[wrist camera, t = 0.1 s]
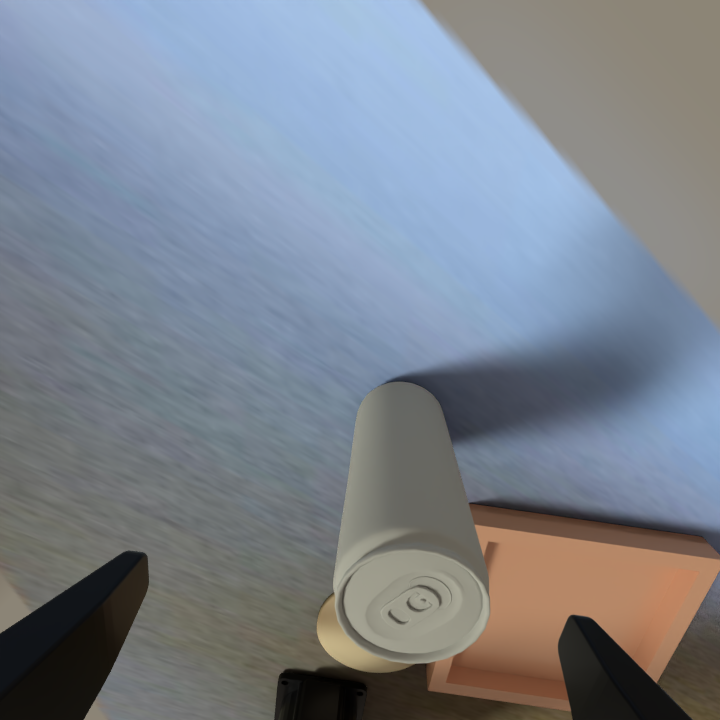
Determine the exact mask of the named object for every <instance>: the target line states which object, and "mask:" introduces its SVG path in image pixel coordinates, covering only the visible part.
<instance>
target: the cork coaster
mask: <svg viewBox="0 0 720 720" xmlns="http://www.w3.org/2000/svg"><path fill="white" fill-rule="evenodd" d="M335 599H336V598H335V593H332V594H331V595H330V596H329V597H328V598H327V599H326V600H325V601H324V603H323V605H322V606H321V609H320V611H319V615H318V620H317V634H318V638H319V640H320V642H321V644H322V646H323V647H324V649H325V650H326V651H327V652H328V653H329V655H331V656H332V657H333V658H334V659H336V660H337V661H339V662H340V663H342V664H344V665H346V666H348V667H351V668H353V669H357V670H360V671H365V672H373V673H386V672H394V671H398V670H402V669H405V668H408V667H410V666H412V665H414V664H407V663H400V662H393V661H388V660H386V659H383V658H380V657H377V656H374V655H372V654H370V653H368V652H367V651H365V650H363V649H362V648H360V647H358V646H357V645H356V644H355V643H354V642H353V641H352V640H351V639H350V638H349V637H348V636H347V635H346V634H345V633H344V631H343V629H342V627H341V626H340V624H339V622H338V620H337V615H336V610H335Z"/></svg>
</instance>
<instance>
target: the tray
mask: <svg viewBox="0 0 720 720" xmlns="http://www.w3.org/2000/svg"><path fill="white" fill-rule="evenodd" d="M469 507H470V510H471V514H472V518H473V521H474V525H475V528H476V532H477V535H478V539H479V543H480V546H481V550H482V553H483V557H484V560H485V564H486V568H487V571H488V575H489V596H490V616H489V619H488V622H487V625H486V628H485V630H484V631H483V632H482V634H481V635H480V636H479V638H478V639H477V640H476V642H474V643H473V644H472V645H470V646H469V647H468V648H467V649H465V650H464V651H463V652H460V653H458V654H456V655H454V656H452V657H449V658H447V659H444V660H439V661H435V662H431V663H426V674H427V685H428V691H435V692H442V693H449V694H455V695H462V696H469V697H476V698H483V699H490V700H497V701H503V702H510V703H517V704H524V705H531V706H538V707H545V708H551V709H558V710H565V711H571V708H570V704H569V699H568V695H567V690H566V686H565V682H564V677H563V673H562V668H561V664H560V659H559V655H558V641H559V638H560V635H561V633H562V631H563V628H564V626H565V623H566V621H567V619H568V617H569V616H570V615H581V616H587V617H590V618H592V619H593V620H594V621H595V622H596V623H597V624H598V625H599V626H600V627H601V628H602V629H603V630H604V631H605V632H606V633H607V634H608V635H609V636H610V637H611V638H612V639H613V640H614V641H615V642H616V643H617V644H618V645H619V646H620V647H621V648H622V649H623V650H624V651H625V652H626V653H627V654H628V655H629V656H630V657H631V658H632V659H633V660H634V661H635V662H636V663H637V664H638V665H639V666H640V667H641V668H642V669H643V670H644V671H645V672H646V673H647V674H648V675H649V676H650V677H651V678H652V679H653V680H654V681H655V682H656V683H657V682H658V680H659V678H660V676H661V674H662V673H663V671H664V669H665V667H666V665H667V664H668V662H669V660H670V658H671V657H672V655H673V653H674V651H675V649H676V648H677V646H678V644H679V642H680V640H681V639H682V637H683V635H684V633H685V632H686V630H687V628H688V626H689V624H690V623H691V621H692V619H693V617H694V615H695V614H696V612H697V610H698V608H699V606H700V605H701V603H702V601H703V599H704V598H705V596H706V594H707V592H708V590H709V589H710V587H711V585H712V583H713V581H714V580H715V578H716V576H717V574H718V572H719V571H720V555H719V554H718V553H717V552H716V551H715V549H714V548H713V547H712V546H711V545H710V544H709V543H708V542H707V541H706V540H705V539H704V538H703V537H700V536H693V535H686V534H679V533H672V532H665V531H658V530H651V529H644V528H637V527H630V526H623V525H616V524H609V523H602V522H595V521H588V520H581V519H575V518H568V517H561V516H554V515H547V514H540V513H533V512H526V511H519V510H512V509H505V508H498V507H491V506H484V505H477V504H470V503H469Z"/></svg>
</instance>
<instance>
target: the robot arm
mask: <svg viewBox="0 0 720 720" xmlns="http://www.w3.org/2000/svg"><path fill="white" fill-rule="evenodd" d="M148 585H149V573H148V558H147V555H146V554H145V553H143V552H137V551H125V552H123V553H121V554H120V555H118V556H117V557H115V558H114V559H112V560H111V561H109V562H108V563H106V564H105V565H103V566H102V567H100V568H99V569H97V570H96V571H94V572H93V573H91V574H90V575H88V576H87V577H85V578H84V579H82V580H81V581H79V582H78V583H76V584H75V585H73V586H71V587H70V588H68V589H67V590H65V591H64V592H62V593H61V594H59V595H58V596H56V597H55V598H53V599H52V600H50V601H49V602H47V603H46V604H44V605H43V606H41V607H40V608H38V609H37V610H35V611H34V612H32V613H31V614H29V615H28V616H26V617H25V618H23V619H22V620H20V621H18V622H17V623H15V624H14V625H12V626H11V627H9V628H8V629H6V630H5V631H3V632H2V633H0V720H84V718H85V716H86V714H87V713H88V711H89V709H90V708H91V705H92V704H93V702H94V701H95V699H96V697H97V695H98V693H99V692H100V690H101V688H102V686H103V685H104V683H105V681H106V679H107V677H108V675H109V673H110V672H111V669H112V667H113V665H114V663H115V661H116V659H117V657H118V655H119V652H120V650H121V648H122V646H123V643H124V641H125V639H126V637H127V635H128V632H129V630H130V628H131V626H132V624H133V621H134V619H135V617H136V615H137V613H138V610H139V608H140V606H141V604H142V602H143V599H144V597H145V595H146V592H147V589H148ZM558 655H559V659H560V664H561V668H562V673H563V677H564V682H565V686H566V690H567V695H568V699H569V704H570V708H571V713H572V717H573V720H692V719H691V718H690V717H689V716H688V715H687V714H686V713H685V712H684V711H683V710H682V708H681V707H680V706H679V705H678V704H677V703H676V702H675V701H674V700H673V699H672V698H671V697H670V696H669V695H668V694H667V693H666V692H665V691H664V690H663V689H662V688H661V687H660V686H659V685H658V684H657V683H656V682H655V681H654V680H653V679H652V678H651V677H650V676H649V675H648V674H647V673H646V672H645V671H644V670H643V669H642V668H641V667H640V666H639V665H638V664H637V663H636V662H635V661H634V660H633V659H632V658H631V657H630V656H629V655H628V654H627V653H626V652H625V651H624V650H623V649H622V648H621V647H620V646H619V645H618V644H617V643H616V642H615V641H614V640H613V639H612V638H611V637H610V636H609V635H608V634H607V633H606V632H605V631H604V630H603V629H602V628H601V627H600V626H599V625H598V624H597V623H596V622H595V621H594V620H593V619H592V618H590V617H587V616H581V615H570V616H569V617H568V619H567V621H566V623H565V626H564V628H563V631H562V633H561V635H560V638H559V641H558ZM366 696H367V687H366V685H364V684H361V683H355V682H348V681H341V680H334V679H327V678H320V677H314V676H307V675H300V674H293V673H281V674H280V675H279V679H278V687H277V697H276V708H275V719H274V720H362V716H363V711H364V706H365V701H366Z"/></svg>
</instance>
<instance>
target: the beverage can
mask: <svg viewBox="0 0 720 720" xmlns="http://www.w3.org/2000/svg"><path fill="white" fill-rule="evenodd" d="M333 588H334V593H335V598H336V599H335V610H336V615H337V620H338V622H339V624H340V626H341V627H342V629H343V631H344V633H345V634H346V635H347V636H348V637H349V638H350V639H351V640H352V641H353V642H354V643H355V644H356V645H357V646H358V647H360V648H362V649H363V650H365V651H367V652H368V653H370V654H372V655H374V656H377V657H380V658H383V659H386V660H388V661H393V662H400V663H407V664H417V663H431V662H435V661H439V660H444V659H447V658H449V657H452V656H454V655H456V654H458V653H460V652H463V651H464V650H465V649H467V648H468V647H469V646H470V645H472V644H473V643H474V642H476V640H477V639H478V638H479V636H480V635H481V634H482V632H483V631H484V630H485V628H486V625H487V622H488V619H489V616H490V596H489V575H488V571H487V568H486V564H485V560H484V557H483V553H482V550H481V546H480V543H479V539H478V535H477V532H476V528H475V525H474V521H473V518H472V514H471V510H470V507H469V503H468V500H467V496H466V493H465V489H464V485H463V482H462V478H461V475H460V471H459V468H458V464H457V460H456V457H455V453H454V450H453V446H452V443H451V439H450V435H449V432H448V428H447V425H446V421H445V418H444V414H443V411H442V409H441V406H440V404H439V402H438V401H437V400H436V398H435V397H434V396H433V395H432V394H431V393H430V392H428V391H427V390H426V389H424V388H423V387H421V386H418V385H416V384H413V383H407V382H391V383H387V384H384V385H381V386H378V387H377V388H375V389H374V390H372V391H371V392H369V393H368V394H367V396H366V397H365V398H364V400H363V401H362V403H361V405H360V407H359V410H358V412H357V418H356V424H355V431H354V439H353V446H352V454H351V462H350V469H349V476H348V483H347V490H346V496H345V503H344V509H343V516H342V522H341V529H340V536H339V543H338V550H337V557H336V565H335V572H334V579H333Z"/></svg>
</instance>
